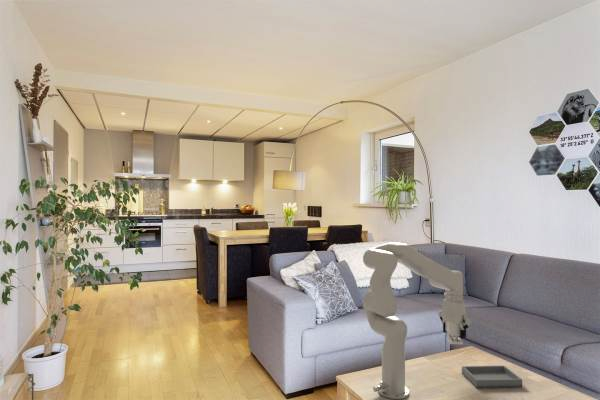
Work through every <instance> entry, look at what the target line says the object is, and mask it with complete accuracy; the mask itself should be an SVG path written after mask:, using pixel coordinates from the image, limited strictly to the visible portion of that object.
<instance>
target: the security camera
mask: <svg viewBox="0 0 600 400" xmlns="http://www.w3.org/2000/svg"><path fill="white" fill-rule="evenodd" d="M462 325H463V324H462ZM445 330H446V331H447V332H446V333H447V334H448V335H449V337H448V336H447V338H446V339H447V342H449V344H450V345H464V341H463V340H462V339H461V338H460V330H461V327H460V325H457V324H454V323H453V321H445Z"/></svg>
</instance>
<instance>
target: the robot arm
mask: <svg viewBox="0 0 600 400" xmlns="http://www.w3.org/2000/svg"><path fill="white" fill-rule="evenodd" d="M362 262H363V263H364V265H365V267H367V268H368V269H371V270H374V271H373V273H372V275H371V276H370V280H369V287H370V289H369V290H367V291H366V292H365V293H364V295H363V298H362V305H363V309H364V312H365V314H366V318H367V322H368V323H369V327H370V329H371V330H372V331H373V332H374V333H376V334H378V335H380V336H382V337H384V342H383V344H382V345H381V346H382V347H381V381H379V384H378V385H375V386H373V387H372V390H373V392H378V394H379V395H381V396H383V397H385V398H387V399H391V400H403V399H406V398H407V397H409V395H410V389H409V388H408V387H407V386H406V341H407V337H408V325H407V324H406V321H404V320H403V319H402V318H400V317H397V316H395V315H396V314H397V312H398V311H397V310H398V305H397V302H396V298H395V295H394V291H393V289H392V284H391V280H392V275H393V274H394V272H395V270H396V269H397V267H398V263H400V264H401V265H403V266H404V267H406V268H407V269H409V270H410V271H412V272H413V273H414V274H415V275H417V276H420V277H422V278H426V279H428V283H429V284H430V285H431V286H432V287H434V288H437V289H441V290H445V292H444V293H443V296H444V297H445V298H444V299H443V302H442V309H441V311H439V312H438V316H439V319H440V321H441V323H442V333H448V332H447V331H446V330H445V321H453V323H454V324H457V325H460V327H461V330H460V336H459V338H460V339H461V340H462V339H465V338H467V329H469V328H470V326H471V324H472V320H471V319H469V318H468V317H467V315H466V314H467V313H466V306H465V302H464V285H463V284H464V283H463V282H464V281H463V280H464V279H463V275H464V274H463V272H462V271H459V270H453V269H452V270H451V269H450V268H448V267H446V266H444V265H442V264H440V263H438V262H436V261H434V260H432V259H430V258H429V257H427V256H425V255H424V254H422V253H421V252H419V250H417V249H415V248H414V247H413V246H411V245H410V244H407V243H402V242H394V241H393V242H388V243H384V244H381V245H377V246H373V247H371V248H369V249H368V250H366V251H365V252H364V253H363V257H362ZM462 324H463V325H462Z"/></svg>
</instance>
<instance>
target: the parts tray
mask: <svg viewBox="0 0 600 400" xmlns="http://www.w3.org/2000/svg"><path fill="white" fill-rule="evenodd" d="M461 375H462V376H463V377H464V378H466V379H467V381H468V382H470V384H472V386H473V387H474V388H475V389H512V388H513V389H517V388H521V389H522V388H523V378H521V377H520V376H518V375H517V374H516V373H514V371H512V370H510V369H509V368H508V367H507V366H506V365H463V366H461Z"/></svg>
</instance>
